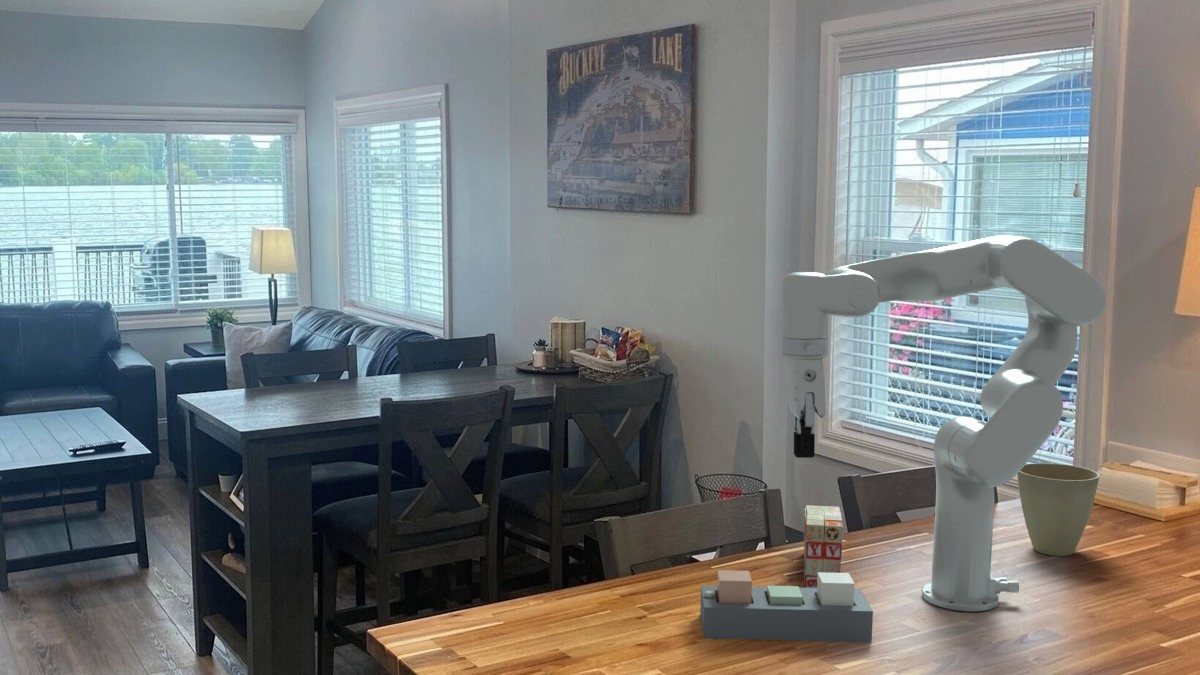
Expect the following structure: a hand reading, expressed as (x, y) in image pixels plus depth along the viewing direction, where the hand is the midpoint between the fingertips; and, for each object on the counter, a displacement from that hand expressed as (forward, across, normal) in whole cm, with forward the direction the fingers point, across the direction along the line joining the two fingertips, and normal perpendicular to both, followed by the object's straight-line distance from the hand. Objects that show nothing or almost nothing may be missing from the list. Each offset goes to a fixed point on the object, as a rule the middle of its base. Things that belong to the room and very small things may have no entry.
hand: (804, 456), depth 191 cm
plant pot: (+27, +31, -54) cm, 68 cm away
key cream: (+22, -12, -3) cm, 25 cm away
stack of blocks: (+26, +16, -6) cm, 31 cm away
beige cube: (+22, -11, +13) cm, 28 cm away
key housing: (+25, -11, +5) cm, 28 cm away
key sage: (+24, -11, +5) cm, 27 cm away
